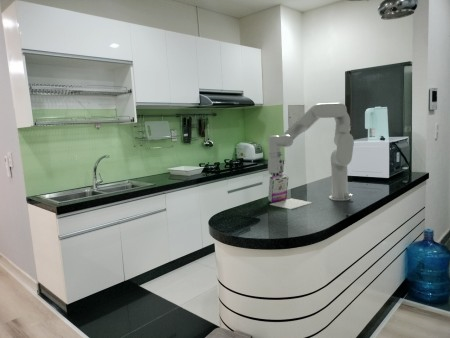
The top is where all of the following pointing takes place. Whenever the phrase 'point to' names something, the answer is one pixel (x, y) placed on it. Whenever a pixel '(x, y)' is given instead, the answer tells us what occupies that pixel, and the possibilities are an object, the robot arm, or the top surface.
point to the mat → (291, 203)
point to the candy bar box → (278, 188)
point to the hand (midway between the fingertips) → (275, 183)
